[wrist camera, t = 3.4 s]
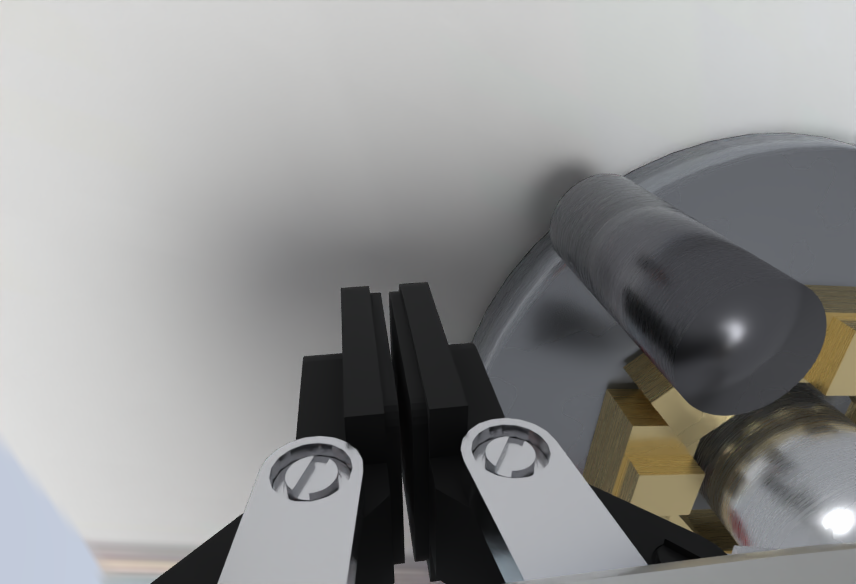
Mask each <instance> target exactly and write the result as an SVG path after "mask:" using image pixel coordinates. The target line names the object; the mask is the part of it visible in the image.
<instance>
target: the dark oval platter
mask: <svg viewBox="0 0 856 584" xmlns="http://www.w3.org/2000/svg"><path fill="white" fill-rule="evenodd" d="M624 177H625V178H628V179H629V180H631V181H633V182H634V183H636V184H638V185H639V186H641V187H643V188H644V189H646V190H648V191H649V192H651V193H653V194H654V195H656V196H658V197H659V198H661V199H663V200H664V201H666V202H668V203H669V204H671V205H673V206H674V207H676V208H677V209H679V210H681V211H682V212H684V213H686V214H687V215H689V216H691V217H692V218H694V219H696V220H697V221H699V222H701V223H702V224H704V225H706V226H707V227H709V228H711V229H712V230H714V231H716V232H717V233H719V234H721V235H722V236H724V237H725V238H727V239H729V240H730V241H732V242H734V243H735V244H737V245H739V246H740V247H742V248H744V249H745V250H747V251H749V252H750V253H752V254H754V255H755V256H757V257H759V258H760V259H762V260H764V261H765V262H767V263H769V264H770V265H772V266H773V267H775V268H777V269H778V270H780V271H782V272H783V273H785V274H787V275H788V276H790V277H792V278H793V279H795V280H797V281H798V282H800V283H802V284H803V285H826V286H852V287H856V146H854V145H851V144H847V143H844V142H840V141H836V140H833V139H829V138H826V137H820V136H811V135H802V134H794V133H773V134H750V135H744V136H738V137H733V138H727V139H721V140H716V141H711V142H708V143H704V144H701V145H698V146H695V147H691V148H688V149H685V150H682V151H678V152H675V153H672V154H670V155H668V156H666V157H663V158H661V159H659V160H657V161H654V162H652V163H650V164H648V165H645V166H643V167H641V168H639V169H636V170H634V171H632V172H631V173H629V174H627V175H626V176H624ZM472 343H474V344H475V346H476V348H477V350H478V352H479V355H480V357H481V360H482V362H483V365H484V367H485V369H486V372H487V374H488V377H489V379H490V382H491V384H492V387H493V389H494V391H495V394H496V396H497V399H498V401H499V404H500V406H501V408H502V411H503V413H504V416H505V418H510V419H519V420H523V421H526V422H530V423H533V424H535V425H537V426H539V427H540V428H542V429H544V430H546V431H547V432H548V433H549V434H550V435H551V436H552V437H553V438H554V439H555V440H556V441H557V442H558V444H559V445H560V447H561V448H562V449H563V451H564V452H565V453H566V455H567V456H568V457H569V459H570V460H571V461H572V463H573V464H574V465H575V467H576V468H577V469H578V471H579V472H580V474H581V475H583V472H584V468H585V465H586V461H587V457H588V454H589V450H590V447H591V443H592V440H593V436H594V432H595V429H596V425H597V422H598V418H599V415H600V411H601V408H602V404H603V400H604V397H605V393H606V390H607V389H639V387H638V386H637V385H636V384H635V382H634V381H633V380H632V378H631V377H630V376H629V375H628V373H627V372H626V371H625V370H624V368H623V367H624V366H625V365H627V364H628V363H630V362H631V361H633V360H634V359H635V358H637V357H638V356H640V355H641V354H642V353H643V352H642V350H641V349H640V348H639V347H638V346H637V345H636V344H635V342H634V341H633V340H632V339H631V338H630V337H629V336H628V335H627V333H626V332H625V331H624V330H623V329H622V328H621V327H620V325H619V324H618V323H617V322H616V321H615V320H614V319H613V317H612V316H611V315H610V314H609V313H608V312H607V311H606V309H605V308H604V307H603V306H602V305H601V304H600V303H599V302H598V300H597V299H596V298H595V297H594V296H593V295H592V294H591V292H590V291H589V290H588V289H587V288H586V287H585V286H584V284H583V283H582V282H581V281H580V280H579V279H578V278H577V277H576V275H575V274H574V273H573V272H572V271H571V270H570V269H569V267H568V266H567V265H566V264H565V263H564V262H563V261H562V259H561V258H560V257H559V256H558V255H557V253H556V252H555V250H554V248H553V245H552V242H551V237H550V231H549V232H548V233H547V234H546V235H545V236H544V237H543V238H542V239H541V240H540V241H539V242H538V243H537V244H536V245H534V247H533V248H532V249H531V250H530V251H529V253H528V254H527V255H526V256H525V257H524V259H523V260H522V261H521V262H520V263H519V265H518V266H517V267H516V268H515V269H514V270H513V272H512V273H511V274H510V275H509V277H508V278H507V280H506V281H505V283H504V284H503V286H502V287H501V289H500V290H499V292H498V293H497V295H496V297H495V298H494V300H493V301H492V303H491V304H490V306H489V307H488V309H487V311H486V313H485V316H484V318H483V320H482V322H481V324H480V326H479V328H478V330H477V332H476V334H475V336H474V338H473V341H472ZM850 403H851V399H850V397H849V396H825V395H824V394H823V393H821V392H820V391H819V390H818V389H816V388H815V387H814V386H813V385H812V384H810V383H802V382H799V383H798V384H797V385H796V386H794V387H793V388H792V389H791V390H790V391H789V392H787V393H786V394H784V395H783V396H782V397H780V398H779V399H777V400H775V401H774V402H772V403H770V404H768V405H766V406H764V407H762V408H759V409H757V410H754V411H751V412H747V413H744V414H738V415H735V416H733V417H732V418H730V419H729V420H727V421H726V422H724V423H723V424H721V425H720V426H718V427H717V428H715V429H714V430H712V431H711V432H709V433H708V434H706V435H705V436H703V437H702V438H700V441H699V443H698V446H697V449H696V451H695V454H694V457H693V459H694V460H695V461H696V462H697V464H698V465H699V466H700V467H701V469H702V470H703V471H704V473H705V477H704V479H703V482H702V484H701V487H700V489H699V492H698V494H697V497H696V499H695V502H694V504H693V507H692V509H691V510H698V509H712V510H713V512H714V513H715V514H716V516H717V517H718V518H719V520H720V521H721V522H722V524H723V525H724V526H725V528H726V529H727V530H728V532H729V533H730V535H731V536H732V537H733V539H734V540H735V541H736V543H737V544H738V545H739V546H749V547H762V548H775V549H786V548H794V547H803V546H814V545H824V544H839V543H850V542H856V424H855V423H854V422H853V421H851V420H850V419H849V418H848V417H846V416H845V413H846V411H847V409H848V407H849V405H850Z"/></svg>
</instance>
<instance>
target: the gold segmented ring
mask: <svg viewBox="0 0 856 584" xmlns="http://www.w3.org/2000/svg"><path fill="white" fill-rule="evenodd" d="M550 237H551V242H552V245H553V248H554V250H555V252H556V253H557V255H558V256H559V257H560V258H561V259H562V261H563V262H564V263H565V264H566V265H567V266H568V267H569V269H570V270H571V271H572V272H573V273H574V274H575V275H576V277H577V278H578V279H579V280H580V281H581V282H582V283H583V284H584V286H585V287H586V288H587V289H588V290H589V291H590V292H591V294H592V295H593V296H594V297H595V298H596V299H597V300H598V302H599V303H600V304H601V305H602V306H603V307H604V308H605V309H606V311H607V312H608V313H609V314H610V315H611V316H612V317H613V319H614V320H615V321H616V322H617V323H618V324H619V325H620V327H621V328H622V329H623V330H624V331H625V332H626V333H627V335H628V336H629V337H630V338H631V339H632V340H633V341H634V342H635V344H636V345H637V346H638V347H639V348H640V349H641V350H642V352H643V353H642V354H641V355H640V356H638V357H637V358H635V359H634V360H633V361H631V362H630V363H628V364H627V365H625V366H624V367H623V368H624V370H625V371H626V372H627V373H628V375H629V376H630V377H631V378H632V380H633V381H634V382H635V384H636V385H637V386H638V387H639V389H607V390H606V393H605V397H604V400H603V404H602V408H601V411H600V415H599V418H598V422H597V425H596V429H595V432H594V436H593V440H592V443H591V447H590V450H589V454H588V457H587V461H586V465H585V468H584V472H583V475H582V476H583V478H584V479H585V480H586V482H587V483H588V484H590V485H592V486H594V487H597V488H599V489H601V490H603V491H605V492H607V493H610V494H612V495H614V496H616V497H618V498H620V499H623V500H625V501H627V502H629V503H631V504H633V505H636V506H638V507H640V508H642V509H644V510H646V511H648V512H651V513H653V514H655V515H657V516H659V517H661V518H664V519H666V520H668V521H670V522H672V523H674V524H677V525H679V526H681V527H683V528H685V529H687V530H690V531H692V532H694V533H696V534H698V535H700V536H702V537H704V538H705V539H707V540H709V541H711V542H712V543H714V544H716V545H717V546H718V547H720V548H721V549H722V550H723V551H724V552H725V553H726V554H731V553H732V550H733V547H734V545H736V546H739V545H738V544H737V543H736V541H735V540H734V539H733V537H732V536H731V535H730V533H729V532H728V530H727V529H726V528H725V526H724V525H723V524H722V522H721V521H720V520H719V518H718V517H717V516H716V514H715V513H714V512H713V510H712V509H698V510H691V509H692V507H693V504H694V502H695V499H696V497H697V494H698V492H699V489H700V487H701V484H702V482H703V479H704V477H705V473H704V471H703V470H702V469H701V467H700V466H699V465H698V464H697V462H696V461H695V460H694V459H693V457H694V454H695V451H696V449H697V446H698V443H699V441H700V438H702V437H703V436H705V435H706V434H708V433H709V432H711V431H712V430H714V429H715V428H717V427H718V426H720V425H721V424H723V423H724V422H726V421H727V420H729V419H730V418H732V417H733V416H735V415H738V414H744V413H747V412H751V411H754V410H757V409H759V408H762V407H764V406H766V405H768V404H770V403H772V402H774V401H775V400H777V399H779V398H780V397H782V396H783V395H784V394H786V393H787V392H789V391H790V390H791V389H792V388H793V387H794V386H796V385H797V384H798V383H799V382H802V383H810V384H812V385H813V386H814V387H815V388H816V389H818V390H819V391H820V392H821V393H823V394H824V395H825V396H849V397H850V399H851V403H850V405H849V407H848V409H847V411H846V413H845V416H846V417H848V418H849V419H850V420H851V421H853V422H854V423H855V424H856V287H852V286H826V285H803V284H802V283H800V282H798V281H797V280H795V279H793V278H792V277H790V276H788V275H787V274H785V273H783V272H782V271H780V270H778V269H777V268H775V267H773V266H772V265H770V264H769V263H767V262H765V261H764V260H762V259H760V258H759V257H757V256H755V255H754V254H752V253H750V252H749V251H747V250H745V249H744V248H742V247H740V246H739V245H737V244H735V243H734V242H732V241H730V240H729V239H727V238H725V237H724V236H722V235H721V234H719V233H717V232H716V231H714V230H712V229H711V228H709V227H707V226H706V225H704V224H702V223H701V222H699V221H697V220H696V219H694V218H692V217H691V216H689V215H687V214H686V213H684V212H682V211H681V210H679V209H677V208H676V207H674V206H673V205H671V204H669V203H668V202H666V201H664V200H663V199H661V198H659V197H658V196H656V195H654V194H653V193H651V192H649V191H648V190H646V189H644V188H643V187H641V186H639V185H638V184H636V183H634V182H633V181H631V180H629V179H628V178H625V177H623V176H620V175H615V174H600V175H595V176H592V177H589V178H587V179H584V180H582V181H581V182H579V183H577V184H576V185H575V186H573V187H572V188H571V189H570V190H569V191H567V193H566V194H565V195H564V196H563V197H562V198H561V200H560V201H559V203H558V205H557V206H556V208H555V211H554V213H553V216H552V219H551V225H550Z"/></svg>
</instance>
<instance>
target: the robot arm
mask: <svg viewBox="0 0 856 584" xmlns="http://www.w3.org/2000/svg"><path fill="white" fill-rule="evenodd" d="M389 310H390V335H391V355H390V349H389V343H388V336H387V330H386V324H385V318H384V311H383V305H382V299H381V293H370V290H369V286H363V287H348V288H341V312H342V353H340V354H328V355H315V356H304V357H303V365H302V377H301V388H300V399H299V411H298V422H297V434H296V440H295V441H292V442H289V443H288V444H286V445H284V446H282V447H280V448H278V449H277V450H276V451H274V452H273V453H272V454H271V455H270V456H269V457H268V458H267V459H266V460H265V462H264V463H263V465H262V467H261V468H260V470H259V473H258V475H257V478H256V481H255V484H254V486H253V489H252V492H251V494H250V497H249V500H248V502H247V505H246V508H245V511H244V513H243V514H241V515H240V516H239V517H237V518H236V519H235V520H234V521H232V522H231V523H230V524H228V525H227V526H226V527H224V528H223V529H222V530H220V531H219V532H218V533H216V534H215V535H214V536H213V537H211V538H210V539H209V540H207V541H206V542H205V543H203V544H202V545H201V546H199V547H198V548H197V549H195V550H194V551H193V552H191V553H190V554H189V555H188V556H186V557H185V558H184V559H182V560H181V561H180V562H178V563H177V564H176V565H174V566H173V567H172V568H170V569H169V570H168V571H166V572H165V573H164V574H163V575H161V576H160V577H159V578H157V579H156V580H155V581H153V582H152V583H151V584H394V564H401V563H405V554H404V525H403V495H402V477H403V484H404V491H405V498H406V505H407V512H408V519H409V525H410V532H411V539H412V546H413V553H414V559H415V562H417V561H425V560H427V564H428V570H429V577H430V582H433V581H442V582H444V583H446V584H856V542H850V543H839V544H824V545H814V546H803V547H794V548H786V549H775V548H762V547H749V546H736V545H734V547H733V550H732V553H731V554H726V553H725V552H724V551H723V550H722V549H721V548H720V547H718V546H717V545H716V544H714V543H712V542H711V541H709V540H707V539H705V538H704V537H702V536H700V535H698V534H696V533H694V532H692V531H690V530H687V529H685V528H683V527H681V526H679V525H677V524H674V523H672V522H670V521H668V520H666V519H664V518H661V517H659V516H657V515H655V514H653V513H651V512H648V511H646V510H644V509H642V508H640V507H638V506H636V505H633V504H631V503H629V502H627V501H625V500H623V499H620V498H618V497H616V496H614V495H612V494H610V493H607V492H605V491H603V490H601V489H599V488H597V487H594V486H592V485H590V484H588V483H587V482H586V480H585V479H584V478H583V476H582V475H581V474H580V472H579V471H578V469H577V468H576V467H575V465H574V464H573V463H572V461H571V460H570V459H569V457H568V456H567V455H566V453H565V452H564V451H563V449H562V448H561V447H560V445H559V444H558V442H557V441H556V440H555V439H554V438H553V437H552V436H551V435H550V434H549V433H548V432H547V431H546V430H544V429H542V428H540V427H539V426H537V425H535V424H533V423H530V422H526V421H523V420H519V419H510V418H505V416H504V413H503V411H502V408H501V406H500V404H499V401H498V399H497V396H496V394H495V391H494V389H493V387H492V384H491V382H490V379H489V377H488V374H487V372H486V369H485V367H484V365H483V362H482V360H481V357H480V355H479V352H478V350H477V348H476V346H475V344H474V343H465V344H452V345H448V342H447V339H446V336H445V333H444V330H443V327H442V324H441V321H440V318H439V315H438V312H437V309H436V306H435V303H434V300H433V297H432V294H431V291H430V288H429V285H428V283H427V282H423V283H408V284H399V291H398V292H389ZM391 361H392V362H391Z"/></svg>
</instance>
